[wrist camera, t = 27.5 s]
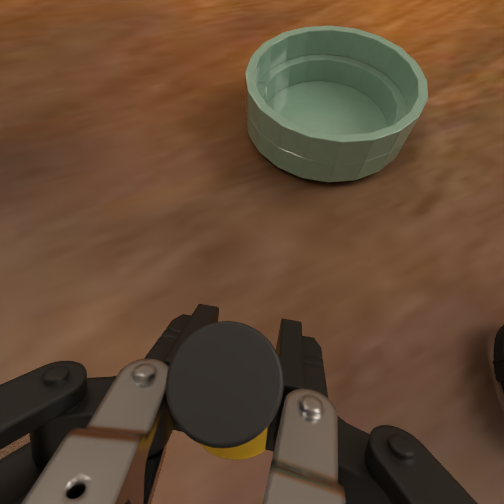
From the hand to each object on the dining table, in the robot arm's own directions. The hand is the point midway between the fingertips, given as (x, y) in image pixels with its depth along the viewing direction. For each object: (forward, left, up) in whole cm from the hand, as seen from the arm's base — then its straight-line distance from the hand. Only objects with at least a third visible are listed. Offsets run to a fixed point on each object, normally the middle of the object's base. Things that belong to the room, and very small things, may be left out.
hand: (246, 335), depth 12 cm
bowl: (-5, +24, -11) cm, 27 cm away
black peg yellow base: (+1, -2, -4) cm, 4 cm away
